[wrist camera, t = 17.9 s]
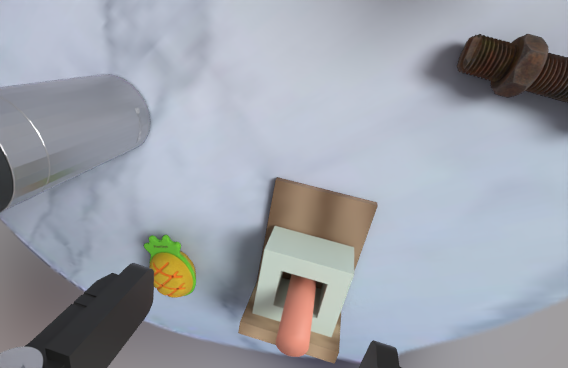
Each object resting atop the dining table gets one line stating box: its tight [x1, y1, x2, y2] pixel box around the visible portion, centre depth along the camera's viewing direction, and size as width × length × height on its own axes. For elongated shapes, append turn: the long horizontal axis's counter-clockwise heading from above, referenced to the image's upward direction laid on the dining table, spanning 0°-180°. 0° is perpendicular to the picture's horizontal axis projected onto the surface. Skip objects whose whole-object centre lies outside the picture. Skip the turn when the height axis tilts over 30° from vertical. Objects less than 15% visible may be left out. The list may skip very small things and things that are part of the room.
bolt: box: [457, 34, 568, 103], centre depth 27 cm, size 6×5×15 cm
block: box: [252, 226, 354, 337], centre depth 39 cm, size 10×10×5 cm
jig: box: [238, 177, 377, 363], centre depth 38 cm, size 12×18×8 cm, turn 169°
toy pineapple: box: [144, 235, 196, 297], centre depth 44 cm, size 7×10×5 cm
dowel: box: [276, 274, 317, 357], centre depth 36 cm, size 3×3×12 cm
